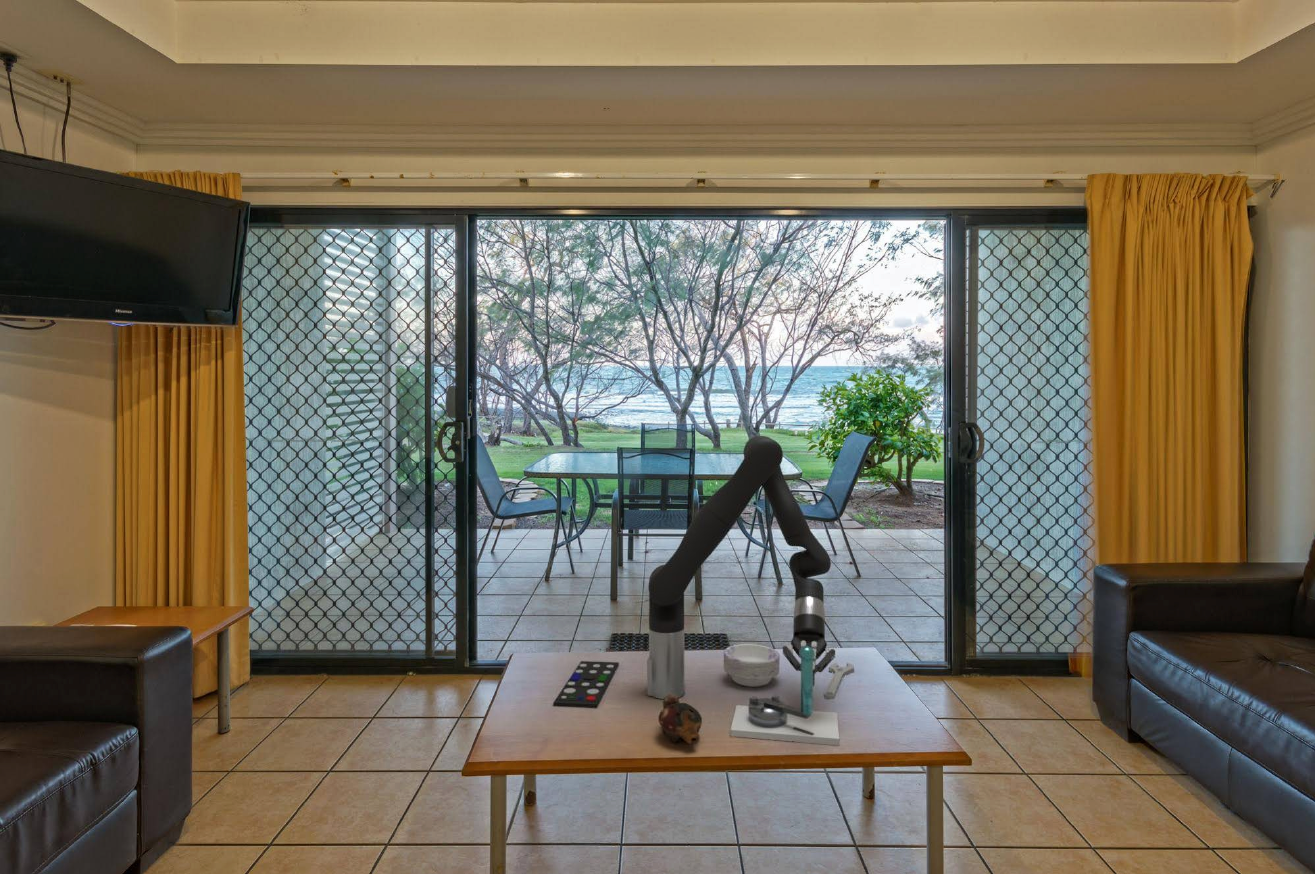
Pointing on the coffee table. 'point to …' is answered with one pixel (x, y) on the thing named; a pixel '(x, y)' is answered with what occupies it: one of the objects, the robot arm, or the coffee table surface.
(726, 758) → the coffee table surface
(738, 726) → the white rectangular board
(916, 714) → the coffee table surface
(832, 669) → the adjustable wrench
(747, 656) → the paper bowls
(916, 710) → the coffee table surface
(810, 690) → the teal handled crank
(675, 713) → the decorative turtle
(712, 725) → the coffee table surface
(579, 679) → the remote control
